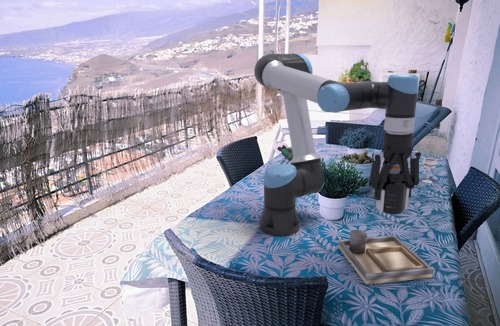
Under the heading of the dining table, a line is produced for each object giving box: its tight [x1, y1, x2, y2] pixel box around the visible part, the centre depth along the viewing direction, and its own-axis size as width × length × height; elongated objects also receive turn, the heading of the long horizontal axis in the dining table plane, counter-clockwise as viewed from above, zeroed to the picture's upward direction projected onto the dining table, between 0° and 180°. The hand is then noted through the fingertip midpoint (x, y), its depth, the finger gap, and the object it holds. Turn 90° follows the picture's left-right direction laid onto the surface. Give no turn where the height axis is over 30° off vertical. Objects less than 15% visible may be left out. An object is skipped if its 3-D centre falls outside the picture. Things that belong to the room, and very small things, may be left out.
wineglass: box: [421, 156, 439, 184], centre depth 170 cm, size 7×7×12 cm
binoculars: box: [276, 144, 293, 164], centre depth 192 cm, size 14×14×15 cm
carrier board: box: [337, 229, 435, 285], centre depth 103 cm, size 20×20×7 cm
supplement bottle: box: [382, 170, 406, 215], centre depth 97 cm, size 7×7×12 cm
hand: (391, 208), depth 99 cm, fingers closed on supplement bottle, 7 cm apart
